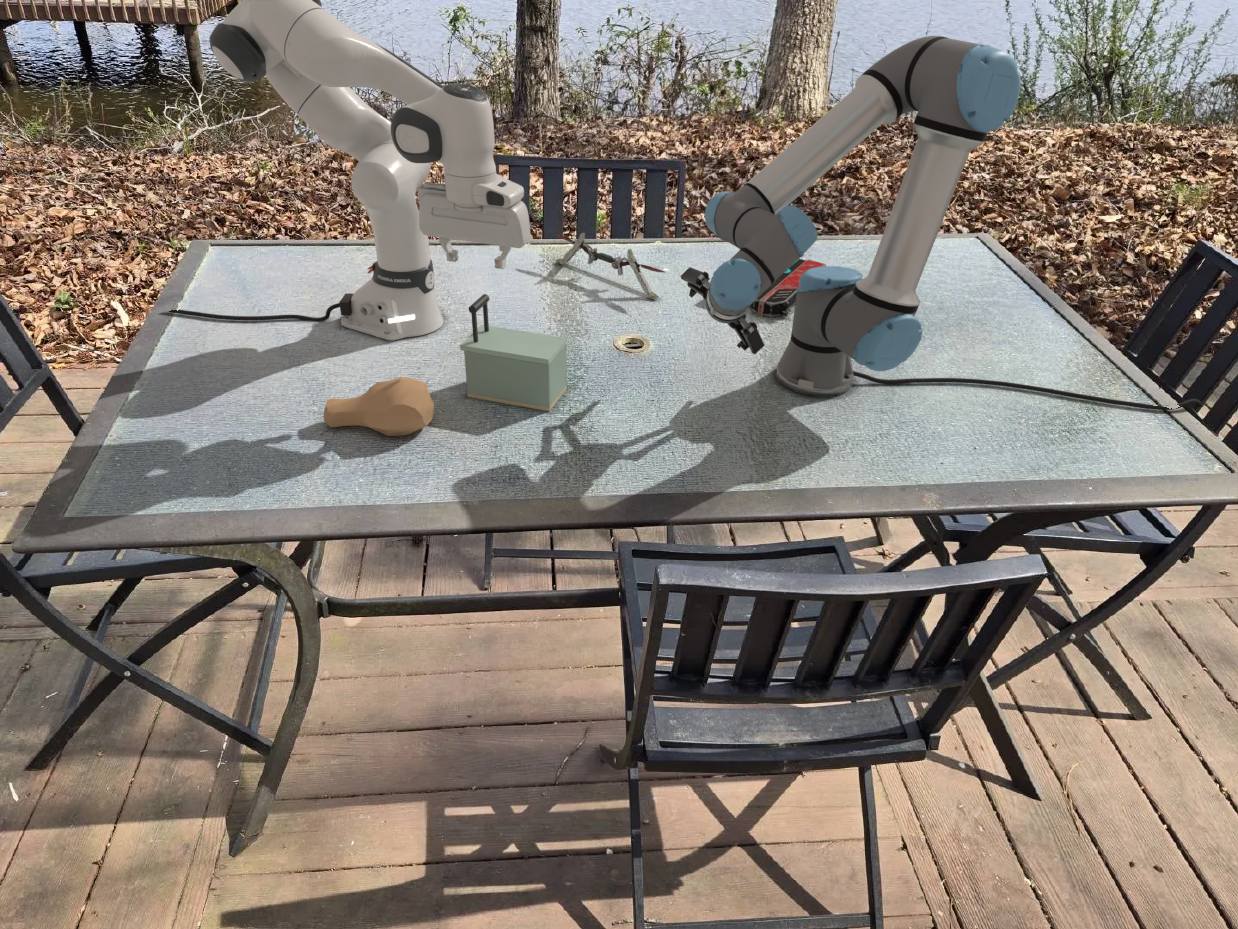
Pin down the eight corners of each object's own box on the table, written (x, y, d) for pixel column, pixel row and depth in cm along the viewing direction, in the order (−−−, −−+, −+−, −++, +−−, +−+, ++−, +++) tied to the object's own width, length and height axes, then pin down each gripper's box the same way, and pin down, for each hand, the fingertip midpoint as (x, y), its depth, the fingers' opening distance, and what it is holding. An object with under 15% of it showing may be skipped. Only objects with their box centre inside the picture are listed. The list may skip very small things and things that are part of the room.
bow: (666, 301, 209) (668, 260, 204) (661, 303, 208) (663, 262, 203) (554, 258, 231) (553, 221, 225) (549, 260, 229) (548, 222, 224)
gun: (708, 284, 207) (784, 305, 199) (760, 245, 229) (831, 262, 221) (706, 302, 209) (781, 323, 201) (758, 261, 231) (828, 278, 223)
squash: (434, 443, 155) (421, 404, 149) (325, 451, 157) (307, 413, 150) (443, 403, 163) (431, 365, 157) (339, 412, 164) (323, 374, 158)
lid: (460, 350, 164) (456, 308, 159) (481, 329, 171) (479, 288, 167) (548, 364, 160) (547, 322, 155) (566, 343, 167) (566, 301, 163)
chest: (467, 396, 169) (463, 351, 164) (488, 374, 177) (485, 330, 171) (549, 411, 165) (548, 365, 160) (567, 388, 173) (566, 343, 167)
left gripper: (408, 185, 151) (416, 262, 158) (518, 199, 146) (521, 277, 154) (425, 175, 156) (432, 250, 163) (532, 188, 151) (534, 265, 159)
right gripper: (662, 261, 150) (661, 284, 172) (762, 366, 150) (749, 376, 171) (694, 230, 150) (689, 257, 171) (794, 336, 150) (777, 349, 171)
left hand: (476, 264), depth 159 cm, fingers open, 8 cm apart
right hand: (719, 316), depth 171 cm, fingers open, 13 cm apart
